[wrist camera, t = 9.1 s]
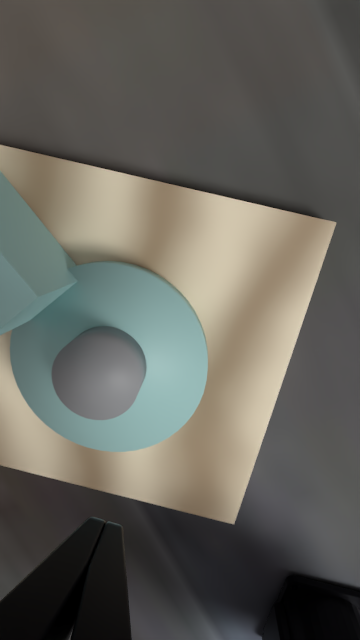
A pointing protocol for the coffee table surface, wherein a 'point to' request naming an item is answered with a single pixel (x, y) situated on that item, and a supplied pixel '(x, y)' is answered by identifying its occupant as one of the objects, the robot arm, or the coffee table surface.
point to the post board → (210, 306)
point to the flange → (95, 339)
